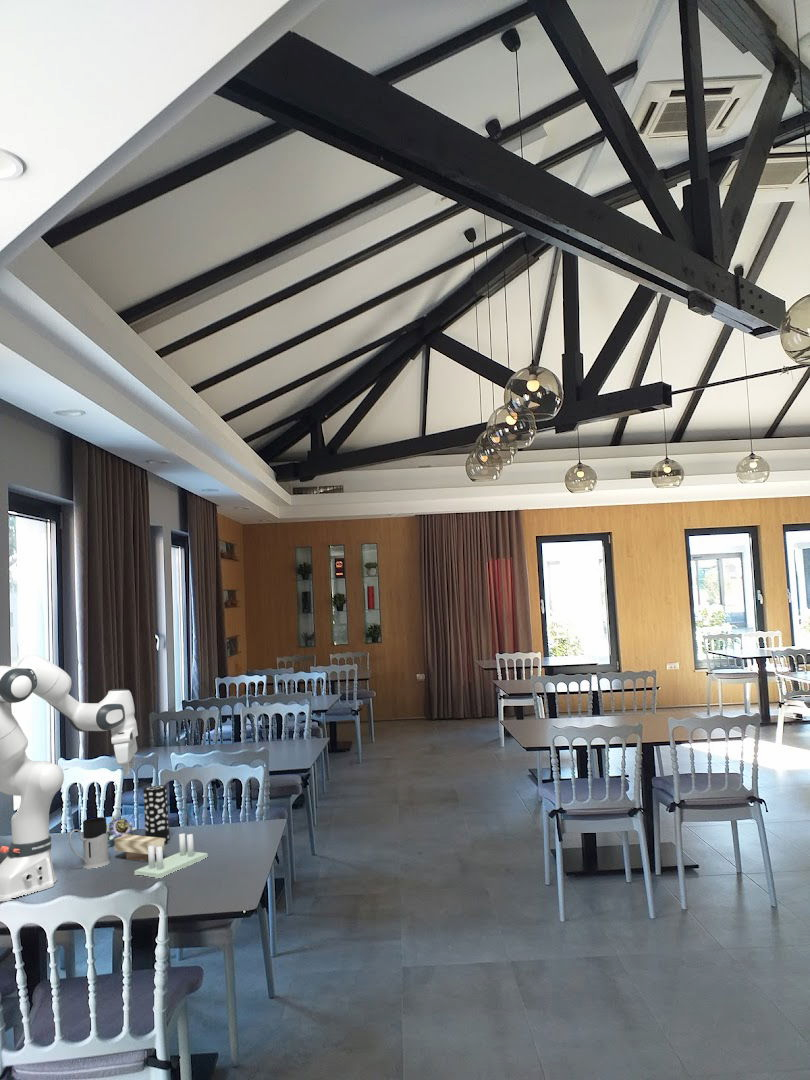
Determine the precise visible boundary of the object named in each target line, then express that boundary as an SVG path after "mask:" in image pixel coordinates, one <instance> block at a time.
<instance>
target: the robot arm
mask: <svg viewBox="0 0 810 1080" xmlns="http://www.w3.org/2000/svg"><path fill="white" fill-rule="evenodd" d="M71 689H72V678H71V676H70V675H69V673H67V672H66V671H65V670H64V669H62V668H61V667H59V666H57V665H56V664H55V663H53V662H51V661H49V660H47V659H46V658H43V657H42V656H39V655H36V654H30V655H27V656H25V657H22V658H21V660H20V661H19V662H18V664H17V665H16V666H15V667H14V666H13V667H12V666H9V665H0V793H3V794H5V795H9V796H15V797H16V796H19V797H20V798H21V800H20V805H19V808H18V810H17V811H16V812H15V813H13V814H12V816H11V821H10V823H11V824H10V825H11V842H10V844H9V846H6V845H2V846H0V853H1V854H6V857H5V858H4V859H3V860H2V862H1V863H0V902H9V901H13V900H14V899H11V898H16V897H19V896H22V897H24V896H23V895H25V896H28V895H31V893H32V894H33V893H34V892H35V893H37V891H38V892H41V891H44V890H46V889H50V888H53V887H55V883H56V882H57V881H58V878H57V876H56V873H55V870H54V866H53V860H52V853H51V851H52V837H51V835H50V809H51V805H52V801H53V799H54V797H55V796H56V794H57V792H59V790H61V788H62V786H63V784H64V781H65V777H64V776H65V775H64V771H63V768H62V767H61V766H59V765H58V764H56V763H52V762H49V761H46V760H44V761H42V760H31V759H30V758H28V755H27V754H26V750H27V748H28V745H29V741H28V738H27V736H26V735H25V733H24V731H23V729H22V728H21V727H22V726H20V724H19V722H18V720H17V719H16V718H15V716H14V715H13V712H12V709H11V704H17V703H21V702H24V701H26V699H28V698H29V697H30V696H31V695H32V693H33V694H34V695H36V696H37V697H39V698H40V699H42V700H44V701H45V702H46V703H47V704H48V705H50V706H51V707H53V708H54V709H55V710H56V711H58V712H59V713H60V714H62V715H63V716H64V717H65V718H67V720H68V722H69V723H70V725H71V727H72V728H73V729H74V730H76V731H78V732H83V733H84V732H105V731H111V738H110V739H111V740H110V741H111V745H113V750H114V755H115V759H116V763H117V765H118V766H122V769H123V774H124V776H129V775H130V774H131V769H133V768H134V767H135V766H136V765H135V755H136V753H137V752H138V745H137V738H136V737H137V736H139V733H138V725H137V724H138V723H137V720H136V718H135V712H136V711H135V704H134V698H133V696H132V695H133V694H132V692H131V691H130V690H129V689H127V688H114V689H109V690H108V692H107V694H106V696H104V698H103V699H102V700H101V701H99V702H98V703H97V702H95V703H94V702H92V703H89V702H80V701H78V700H77V699H75V698H74V697H73V696H72V695H71V694H69V693H70V692H71ZM35 893H34V894H35ZM27 894H28V895H27ZM19 898H20V897H19ZM16 899H17V898H16Z"/></svg>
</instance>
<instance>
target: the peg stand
mask: <svg viewBox="0 0 810 1080" xmlns="http://www.w3.org/2000/svg"><path fill="white" fill-rule="evenodd" d="M178 842H179V843H178V844H179V852H177V853H174V854H172V855H169V856H167V857H165V858H163V857H164V856H163V851H164V850H163V851H162V846H157V847H156V854H155V851H154V845H149V846H148V865H145V866H142V867H140V868H137V869H136V870H134V876H135V875H144V876H149V877H148V878H150V877H155V878H154V879H158V878H160V879H162V878H164V876H165V877H166V875H167V876H169V875H171V874H170V873H172V874H173V872H174V873H176V872H178V871H177V870H179V871H181V870H183V869H186V868H187V866H188V867H190V866H193V865H194V863H195V864H196V862H197V863H199V862H201V860H202V861H203V859H204V860H206V859H208V858H209V857H208V852H198V851H195V850H194V849H195V848H194V845H195V844H194V834H193V833H187V834H186V833H185V832H183V833H179V834H178ZM186 842H187V843H186ZM186 844H187V847H186ZM207 857H208V858H207ZM205 858H206V859H205ZM182 868H183V869H182ZM180 869H181V870H180ZM175 871H176V872H175ZM168 874H169V875H168Z"/></svg>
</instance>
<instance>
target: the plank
mask: <svg viewBox="0 0 810 1080" xmlns="http://www.w3.org/2000/svg"><path fill="white" fill-rule="evenodd" d="M114 840H115V841H114ZM113 841H114V851H116V852H123V853H124V852H125V853H126V852H132V853H141V854H148V846H149V845H154V851H155V855H156V847H157V846H162V851H165V850H166V849H165V848H166V847H165V845H164V838H159V837H148V836H146V835H136V834H133V835H124V836H121V837H118V838H115V839H114V838H113Z"/></svg>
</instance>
